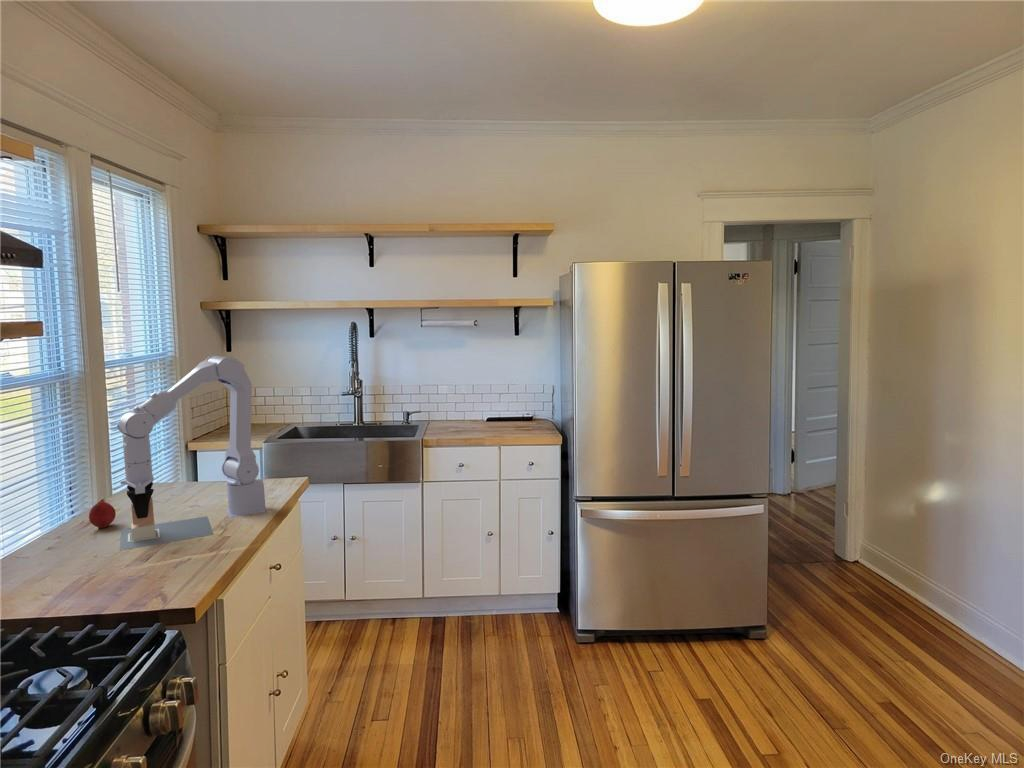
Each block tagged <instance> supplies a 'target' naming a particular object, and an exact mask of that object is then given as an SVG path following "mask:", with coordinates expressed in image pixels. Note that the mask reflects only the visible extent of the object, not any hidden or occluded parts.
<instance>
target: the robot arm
mask: <svg viewBox="0 0 1024 768" xmlns="http://www.w3.org/2000/svg"><path fill="white" fill-rule="evenodd" d="M209 382H219V383H220V384H222V385H223V386H224V387H225V388H227V389H228V390H229V391H230V393H229V394H230V398H229V400H230V401H229V447H228V448H227V450H226V451H225V454H224V455H225V456H224V460H223V462H222V465H221V472H222V474H223V475H224V476H225V477H226V490H227V493H226V494H227V504H228V508H225V511H226V515H227V516H228V518H233V517H234V518H235V517H240V516H247V515H253V514H259V513H266V512H267V511H266V497H265V496H266V495H265V493H266V492H265V485H264V480H263V479H262V478H260V479H259V478H258V475H259V472H260V468H259V465H258V463H257V459H256V457H257V455H256V454H255V452H254V450H253V449H252V441H251V440H252V436H251V435H252V398H253V397H252V392H253V391H252V389H253V386H252V382H251V380H250V378H249V375H248V374H247V371H246V370H245V365H244V364H243V363H242V362H241V361H240V360H238V359H237V358H236V357H233V356H220V355H218V354H216V355H215V354H214V355H210V356H207V358H206V359H205V360H202V361H200V362H199V363H198V364H197V365H196V366H195V368H193V369H192V370H191V371H189V372H188V373H187V374H186V375H185V376H184V377H182V378H181V379H180V380H178V381H177V383H175V384H174V385H173V386H172V387H170V389H168V390H167V391H163V390H158V391H157V392H152V393H151V394H149V398H148V399H147V400H145V401H144V402H143V403H141V404H140V405H138V406H137V405H136V406H135V407H133V408H132V409H133V411H129V412H127V413H125V414H123V415H122V416H120V419H119V421H118V423H117V426H116V427H117V429H118V430H119V432H120V433H121V434H122V447H123V448H122V450H123V458H124V459H123V462H124V473H125V478H124V479H121V480H120V482H119V483H120V484H121V485H127V486H126V488H127V491H126V495H127V497H128V498H129V499H130V502H131V501H132V503H133V506H134V509H135V513H136V516H137V518H138V519H139V518H146V517H147V516H148V510H149V502H150V498H151V497H152V495H153V494H154V490H155V489H154V488H153V485H154V483H153V482H154V480H155V478H154V476H153V464H152V463H153V462H152V451H151V441H150V434H151V433H152V431H153V428H154V426H155V425H156V424H157V423H159V422H160V421H161V420H163V419H165V417H166V416H168V415H169V414H171V413H172V412H173V411H174V410H176V408H177V403H178V401H179V400H180V399H182V398H184V397H185V396H186V395H188V394H189V393H191V392H192V391H194V390H195V389H196V388H198V387H199V386H200V385H202V384H203V383H209ZM256 478H258V479H256Z"/></svg>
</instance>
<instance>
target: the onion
mask: <svg viewBox="0 0 1024 768" xmlns="http://www.w3.org/2000/svg"><path fill="white" fill-rule="evenodd" d="M115 519H116V510H115V508H114V506H112V504H110V503H108V502H106V501H105V499H104V498H100V499H99V500H98V502H97V503H95V504H94V505H93V506H92V507H91V508H90V511H89V513H88V520H89V522H90V524H91V525H93V526H95V527H96V528H99V529H103V528H107V527H109V525H111V524H112V523H113V522H114V520H115Z"/></svg>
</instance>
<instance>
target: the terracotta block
mask: <svg viewBox="0 0 1024 768" xmlns="http://www.w3.org/2000/svg"><path fill="white" fill-rule="evenodd" d="M130 502H131V515H132V517H131V519H132V523H133V525H135V524H142V523H148V522H155V514H154V502H153V497H152V496H151V498H150V502H149V510H148V516H147V517H146V518H139V519H138V518H137V516H136V513H135V509H134V506H133V503H132V501H131V500H130Z"/></svg>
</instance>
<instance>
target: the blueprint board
mask: <svg viewBox="0 0 1024 768" xmlns="http://www.w3.org/2000/svg"><path fill="white" fill-rule="evenodd" d="M130 526H131V527H130V528H123V529H121V530H120V542H119V545H120V546H119V551H124V550H130V549H131V550H132V549H137V548H142V547H148V546H149V547H150V546H153V545H160V544H166V543H173V542H179V541H184V540H189V539H194V538H195V539H196V538H202V537H207V536H212V535H214V531H213V529H212V526H211V524H210V521H209V517H208V516H201V517H200V516H199V517H195V518H187V519H182V520H180V519H179V520H174V521H169V522H161V523H156V524H155V521H154V522H148V523H142V524H135V525H133V522H131V525H130Z"/></svg>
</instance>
